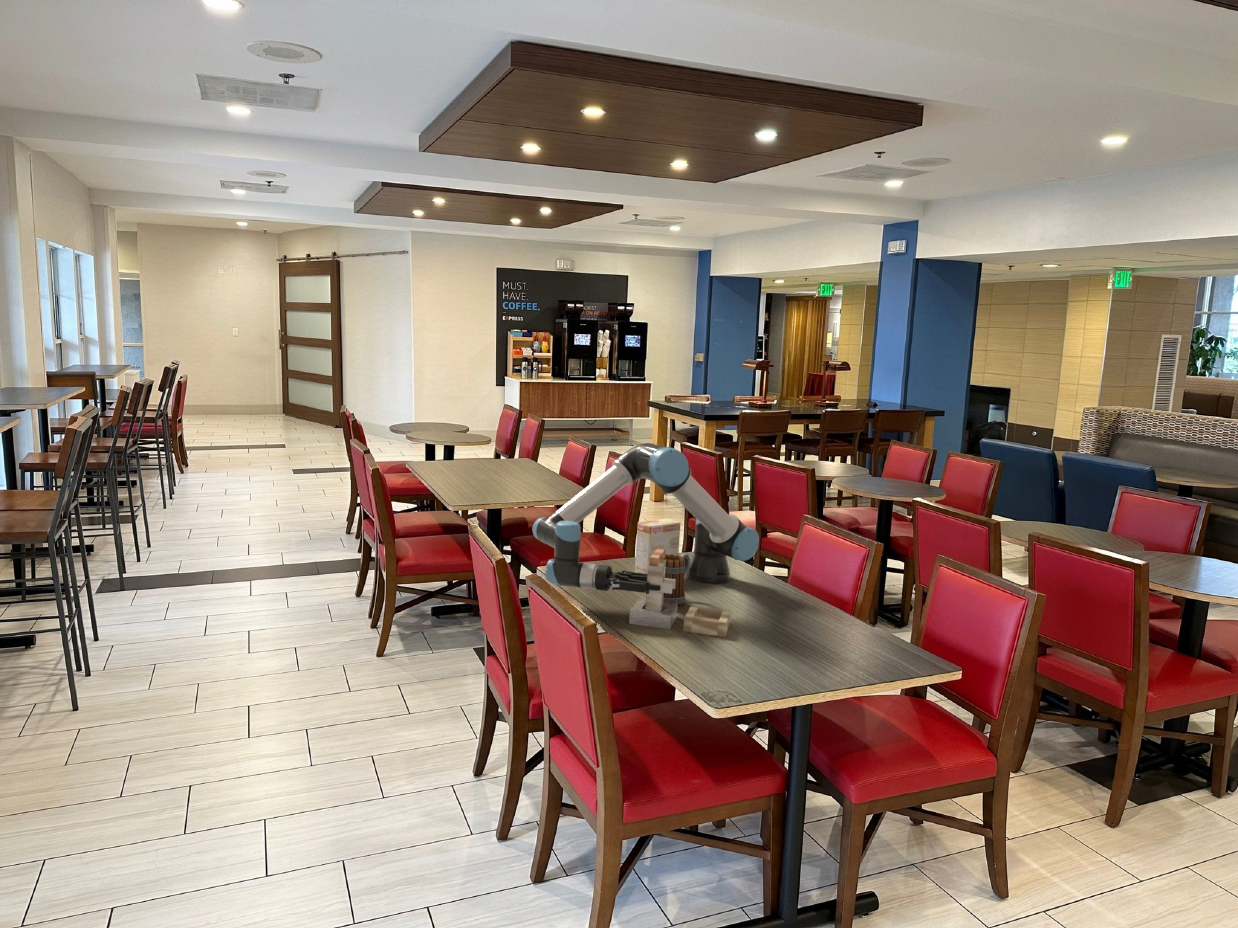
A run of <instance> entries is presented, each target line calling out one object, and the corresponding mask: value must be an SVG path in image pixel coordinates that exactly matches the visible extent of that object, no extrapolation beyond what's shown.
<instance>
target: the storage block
mask: <svg viewBox="0 0 1238 928" xmlns="http://www.w3.org/2000/svg"><path fill="white" fill-rule="evenodd" d="M731 614H732V612H731V610H727V609H726V610H725V609H719V608H710V607H703V606H696V605H690V607H689V609H688V610H687V612H686V614H685V616H684V619H683V620H684V621H683V632H688V633H692V634H693V633H695V634H703V635H709V636H717V637H723V638H725V637H726V636H727V632H728V631H729V627H730V624H731Z"/></svg>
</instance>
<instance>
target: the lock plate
mask: <svg viewBox="0 0 1238 928" xmlns="http://www.w3.org/2000/svg"><path fill="white" fill-rule="evenodd" d="M645 607H646V599H642V598H641V599H640V598H638V599H637V600H636V602H635V604H634V605H633V606H632V607H631V608H630V610H629V619H628V620H629V621H628V623H629V625H635V626H644V627H651V628H659V629H666V630H670V629H671V627H672V626H673V624H674V622H675V621H676V619H677V617H678V608H679V607H678V604H673V603H666V602H663V612H661V611H653V610H646V609H645Z"/></svg>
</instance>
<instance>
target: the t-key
mask: <svg viewBox="0 0 1238 928" xmlns="http://www.w3.org/2000/svg"><path fill="white" fill-rule="evenodd" d="M664 558H665V549H658V548H657V550H656V551H655V552H654V553H653V554H652V555H651V556H650V558H649V562H648V575H647V582H649V583H650V582H651V581H652V582H660V583H664V581H665V566H666V560H663V559H664ZM663 597H664V593H662V592H654V591H650V590H649V594H646V593H645V600H646V607H645V609H646V610H653V611H661V612H663Z"/></svg>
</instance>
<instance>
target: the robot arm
mask: <svg viewBox="0 0 1238 928" xmlns="http://www.w3.org/2000/svg"><path fill="white" fill-rule="evenodd" d="M641 479H644V480H648V481H651V482H652V483H653V484H655V486H657V488H659V490H661V492H662V493H664V494H667V495H672V496H673V497H674V498H675V499H676V500H677V501H678V502H679V503H680V504H681V505H682V506H683V507H684V508H685V510H687V511H688V512H689V513H690V514H691V516H693V517H694V518H695V519H696V520H695V530H694V533H695V534H694V547H693V555H692V559H690V568H689V573H688V576H687V578H689V579H692V580H694V581H697V582H700V583H701V582H702V583H709V584H719V583H726V582H729V581H730V579H731V571H730V568H729V563H728V558H727V557H729V558H732V559H734V560H735V561H740V562H745V561H748V560H751V558H753V557H754V555H755V554H756V553H757V551H758V549H759V544H760V543H759V542H760V536H759V533H758V531H757V530H755V529H754V528H752V527H751V526H747V525H746V524H744V523H743V521H742V520H740V519H739V517H738V516H736V515H735V514H729V513H727V512H726V511H725V509H723V507H721V506H720V504H719V503H718V502H717V501H716V500H715V499H714V498H713V497H712V496H711V495H710V494H709V493H708V492H707V490H705V489H704V488H703V486H701V484H699V482H698V481H697V480H696V479H695V478H694V477H693V476H692V470H691V467H690V466H689V461H688V459H687V457H686V456H685V454H684V453H683V452H682V451H679V450H678V449H676V448H674V447H671V446H662V445H660V444H659V445H658V444H655V443H651V442H644V443H640V444H637V445H635V446H633V447H631V448H630V449H628V450H626V451H625V452H624V453H622V454H621V455H619V456H618V457H617V458H615V460H613V461H612V463H611V467H609V468H608V469H607V470H605V472H603V473H602V474H600V475H599V476H598V477H596V479H594V480H593V481H592V482H591V483H589V484H588V485H587V486H586V487H584V488H583V489H582V490H581V491H580V492H578V493H576V495H574V496H573V497H572V498H571V499H569V500H568V501H567V502H566V503H565V504H563V505H562V506H560V508H559V509H556V511H554V512H553V513H552V514H550V516H548V517H547V516H544V517H543V516H542V517H539V518H537V519H536V520H535V521H534V523H533V524H532V533H533V536H534V537H535V539H537V541H540V542H541V543H542V544H545V545H548V546H549V547H551V548H553V549H554V552H553V553H554V557H553V558H551V559H548V561H547V563H546V566H545V571H544V573H545V580H546V581H547V580H548V581H549V582H551V583H552V585H557V586H561V587H562V586H563V587H571V588H581V589H584V590H586V591H588V590H589V589H590V590H594V589H595V590H596V591H602V592H603V591H604V592H607V591H609V590H610V589H611V590H613V591H615V590H616V591H618V590H619V591H627V592H636V593H643V594H645V595H646V594H649V590H650V591H654V592H662V593H670V594H672V589H675V582H676V579H667V578H665V581H664V583H660V582H652V581H651V582H650V583H649V582H647V575H648V574H644V573H636V572H635V571H628V570H625V569H624V570H622V571H617V572H613V569H612V568H613V567H612V566H610V565H605V564H599V565H598V564H596V563H588V562H580V551H581V549H580V548H581V538H582V534H581V525H580V522H582V521H583V520H584V519H586V518H587V517H588V516H589V515H590V514H592V513H593V512H594V511H596V510H597V509H598V508H599V507H600V506H601V505H603V504H604V503H605V502H607V501H608V500H609V499H611V498H612V496H614V495H615V494H617V493H618V492H619V491H620V490H622V489H623V488H624V487H626V486H627V485H628V486H631V485H632V484H634V483H635V482H636V481H638V480H641ZM551 583H550V584H551Z"/></svg>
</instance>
